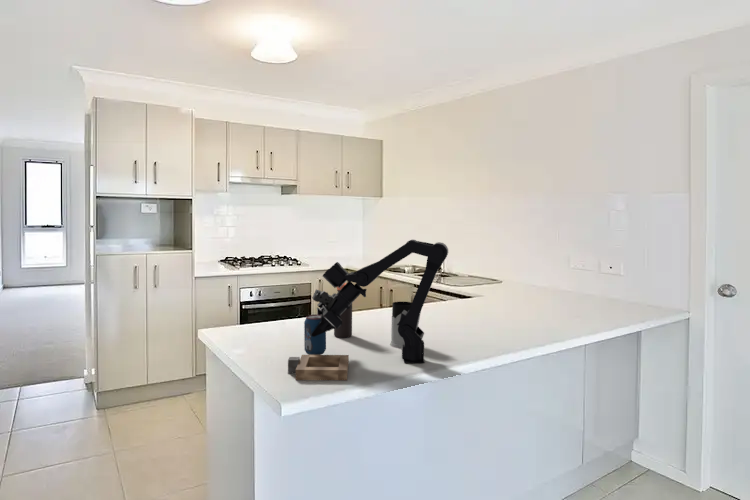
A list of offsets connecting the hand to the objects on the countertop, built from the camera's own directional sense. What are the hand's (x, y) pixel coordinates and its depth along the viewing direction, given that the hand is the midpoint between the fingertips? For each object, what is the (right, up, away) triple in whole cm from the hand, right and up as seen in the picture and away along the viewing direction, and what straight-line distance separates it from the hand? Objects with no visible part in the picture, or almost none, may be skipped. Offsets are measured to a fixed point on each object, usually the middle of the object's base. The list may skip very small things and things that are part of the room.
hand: (311, 333), depth 164 cm
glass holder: (+30, -7, +21) cm, 37 cm away
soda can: (+1, -7, +1) cm, 7 cm away
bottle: (+8, -6, +29) cm, 31 cm away
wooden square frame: (+4, -9, -13) cm, 16 cm away
